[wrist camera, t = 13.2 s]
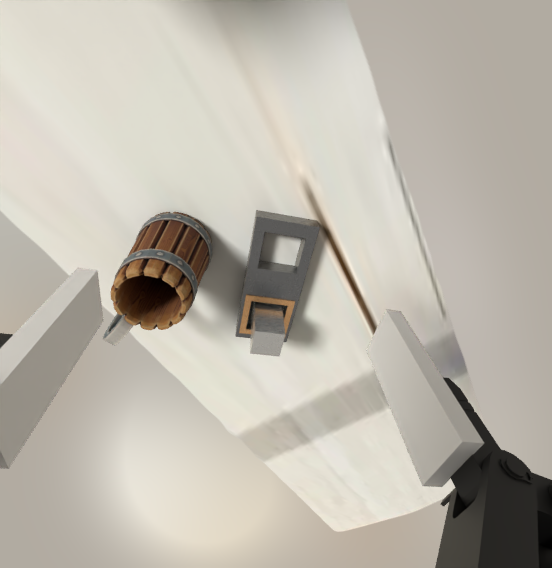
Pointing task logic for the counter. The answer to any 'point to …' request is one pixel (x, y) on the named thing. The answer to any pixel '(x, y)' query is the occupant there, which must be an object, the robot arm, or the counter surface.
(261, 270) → the rail plate
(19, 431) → the robot arm
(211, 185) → the counter surface
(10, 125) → the counter surface
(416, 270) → the counter surface
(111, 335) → the mug
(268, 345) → the steel peg
